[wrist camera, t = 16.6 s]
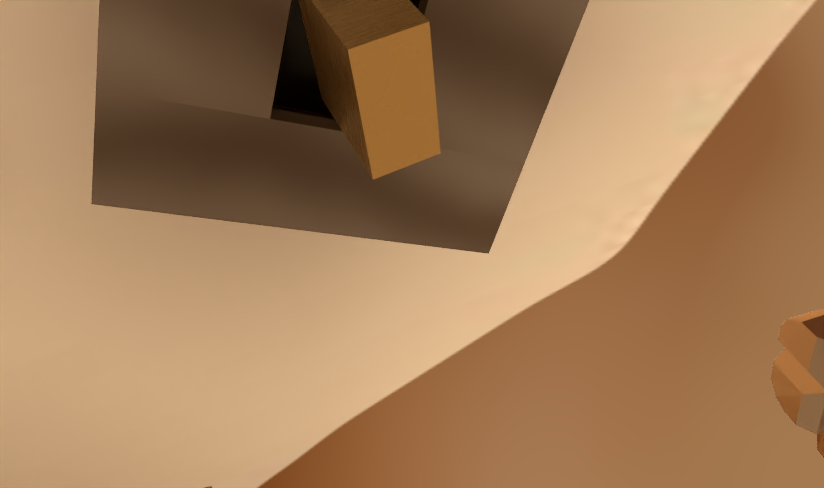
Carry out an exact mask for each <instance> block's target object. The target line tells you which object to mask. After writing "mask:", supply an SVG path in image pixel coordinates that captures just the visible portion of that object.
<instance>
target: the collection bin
mask: <svg viewBox="0 0 824 488" xmlns="http://www.w3.org/2000/svg"><path fill="white" fill-rule="evenodd" d="M588 2H589V0H420V3H419V6H418V10H419V11H420V12H421V13H422V14H423V15H424V16H425V17H426V18H427V20H428V21H429V23H430V34H431V46H432V58H433V69H434V81H435V93H436V105H437V116H438V128H439V140H440V151H441V153H440V154H438V155H435V156H432V157H430V158H427V159H425V160H422V161H420V162H417V163H415V164H412V165H409V166H407V167H404V168H402V169H399V170H397V171H394V172H391V173H389V174H386V175H384V176H381V177H379V178H376V179H374V180H373V179H372V177H371V176H370V174H369V173H368V171H367V169H366V168H365V166H364V165H363V163H362V162H361V160H360V158H359V157H358V155H357V154H356V152H355V150H354V149H353V147H352V146H351V144H350V142H349V141H348V139H347V138H346V136H345V135H344V133H343V131H342V130H341V128H340V127H339V125H338V123H337V122H336V120H335V119H334V117H333V116H332V115H326V114H320V113H315V112H309V111H304V110H298V109H293V108H287V107H281V106H276V105H273V100H274V94H275V88H276V83H277V77H278V72H279V66H280V61H281V55H282V49H283V44H284V38H285V33H286V27H287V22H288V16H289V10H290V5H291V0H100V4H99V29H98V54H97V80H96V105H95V131H94V156H93V181H92V204H96V205H104V206H112V207H120V208H128V209H136V210H144V211H152V212H160V213H168V214H176V215H184V216H192V217H200V218H208V219H216V220H224V221H232V222H240V223H249V224H257V225H265V226H273V227H281V228H289V229H297V230H305V231H313V232H321V233H329V234H337V235H345V236H353V237H361V238H369V239H377V240H385V241H393V242H401V243H409V244H417V245H425V246H433V247H441V248H449V249H457V250H465V251H473V252H481V253H489V251H490V249H491V246H492V244H493V241H494V239H495V236H496V233H497V231H498V228H499V226H500V223H501V221H502V218H503V216H504V213H505V211H506V208H507V206H508V203H509V201H510V198H511V196H512V193H513V191H514V188H515V186H516V183H517V181H518V178H519V176H520V173H521V171H522V168H523V165H524V163H525V160H526V158H527V155H528V153H529V150H530V148H531V145H532V143H533V140H534V138H535V135H536V133H537V130H538V128H539V125H540V123H541V120H542V118H543V115H544V113H545V110H546V108H547V105H548V103H549V100H550V97H551V95H552V92H553V90H554V87H555V85H556V82H557V80H558V77H559V75H560V72H561V70H562V67H563V65H564V62H565V60H566V57H567V55H568V52H569V50H570V47H571V45H572V42H573V40H574V37H575V35H576V32H577V29H578V27H579V24H580V22H581V19H582V17H583V14H584V12H585V9H586V7H587V4H588Z"/></svg>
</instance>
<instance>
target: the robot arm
mask: <svg viewBox="0 0 824 488" xmlns="http://www.w3.org/2000/svg"><path fill="white" fill-rule="evenodd" d="M778 341H779V342H780V343H781V344H782V345H783V346H784V347H785V349H784V350H783V351H782V352H781V353H780V355H779V356H778V357H777V358H776V359H775V360H774V362H773V367H772V374H771V380H772V384H773V388H774V391H775V395H776V398H777V399H778V401H779V403H780V405H781V406H782V408H783V410H784V411H785V412H786V414H787V415H788V416H789V417H790V418H791V420H792V421H793V422H794V423H795V424H796V425H798V426H800V427H802V428H804V429H806V430H809V431H811V432H813V433H815V434H817V450H818V451H819V452H820V454H821V455H822V456H823V457H824V308H822V309H819V310H816V311H812V312H809V313H806V314H802V315H799V316H796V317H792V318H789V319H787V320H786V321H785V322H784V323H783V324H782V325H781V327H780V331H779V335H778ZM205 488H212V487H211V486H210V487H205Z"/></svg>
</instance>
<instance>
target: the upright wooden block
mask: <svg viewBox="0 0 824 488" xmlns="http://www.w3.org/2000/svg"><path fill="white" fill-rule="evenodd" d="M298 2H299V6H300V10H301V14H302V18H303V22H304V27H305V31H306V35H307V39H308V43H309V47H310V51H311V55H312V60H313V64H314V68H315V72H316V76H317V80H318V84H319V88H320V93H321V97H322V100H323V101H324V103H325V104H326V106H327V107H328V109H329V111H330V112H331V114H332V115H333V117H334V119H335V120H336V122H337V123H338V125H339V127H340V128H341V130H342V131H343V133H344V135H345V136H346V138H347V139H348V141H349V142H350V144H351V146H352V147H353V149H354V150H355V152H356V154H357V155H358V157H359V158H360V160H361V162H362V163H363V165H364V166H365V168H366V169H367V171H368V173H369V174H370V176H371V177H372V179H373V180H374V179H376V178H379V177H381V176H384V175H386V174H389V173H391V172H394V171H397V170H399V169H402V168H404V167H407V166H409V165H412V164H415V163H417V162H420V161H422V160H425V159H427V158H430V157H432V156H435V155H438V154H440V153H441V151H440V140H439V128H438V116H437V105H436V93H435V81H434V69H433V58H432V46H431V34H430V23H429V21H428V20H427V18H426V17H425V16H424V15H423V14H422V13H421V12H420V11H419V10H418V9H417V8H416V7H415V6H414V4H413V3H412V2H411V1H410V0H298Z"/></svg>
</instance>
